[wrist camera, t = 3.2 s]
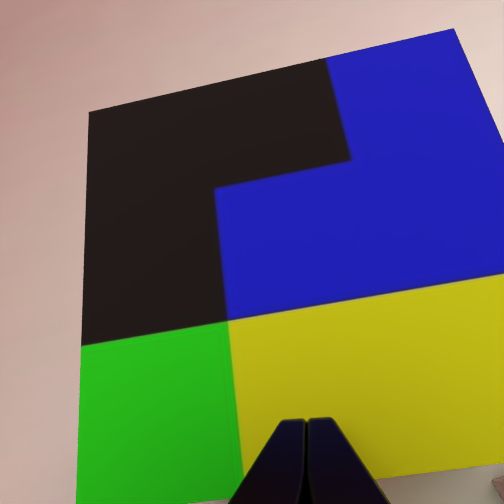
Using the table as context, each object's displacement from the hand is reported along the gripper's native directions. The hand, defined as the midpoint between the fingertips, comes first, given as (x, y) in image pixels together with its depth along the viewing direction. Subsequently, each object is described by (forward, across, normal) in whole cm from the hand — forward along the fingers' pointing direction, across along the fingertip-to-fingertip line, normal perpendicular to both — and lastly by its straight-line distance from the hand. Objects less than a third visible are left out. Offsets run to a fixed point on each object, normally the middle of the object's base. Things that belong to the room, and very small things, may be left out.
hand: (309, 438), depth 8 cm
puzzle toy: (+11, 0, +5) cm, 12 cm away
